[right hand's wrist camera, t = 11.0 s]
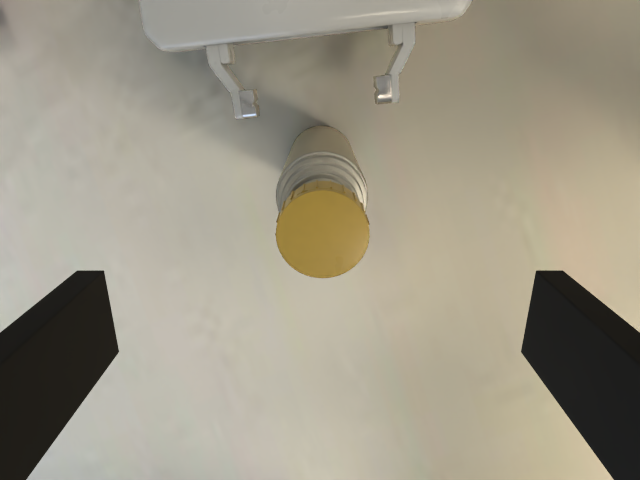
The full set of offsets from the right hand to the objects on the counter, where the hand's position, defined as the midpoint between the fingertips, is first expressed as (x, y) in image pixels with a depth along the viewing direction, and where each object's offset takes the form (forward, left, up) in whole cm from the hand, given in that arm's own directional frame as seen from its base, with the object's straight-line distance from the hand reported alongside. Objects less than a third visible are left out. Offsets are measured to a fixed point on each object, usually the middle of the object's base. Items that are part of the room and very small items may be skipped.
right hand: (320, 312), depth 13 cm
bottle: (0, 0, -26) cm, 26 cm away
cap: (0, 0, -7) cm, 7 cm away
